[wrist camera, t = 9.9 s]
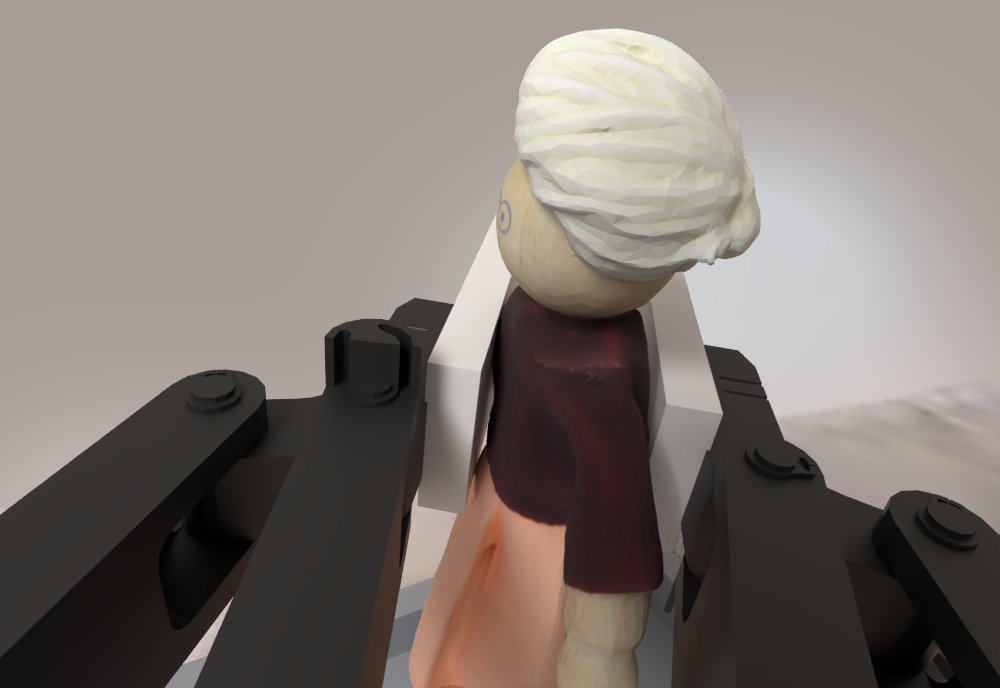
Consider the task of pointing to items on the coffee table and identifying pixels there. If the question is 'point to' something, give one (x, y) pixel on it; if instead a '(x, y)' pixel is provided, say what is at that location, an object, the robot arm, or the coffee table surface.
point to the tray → (649, 653)
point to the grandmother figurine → (582, 364)
